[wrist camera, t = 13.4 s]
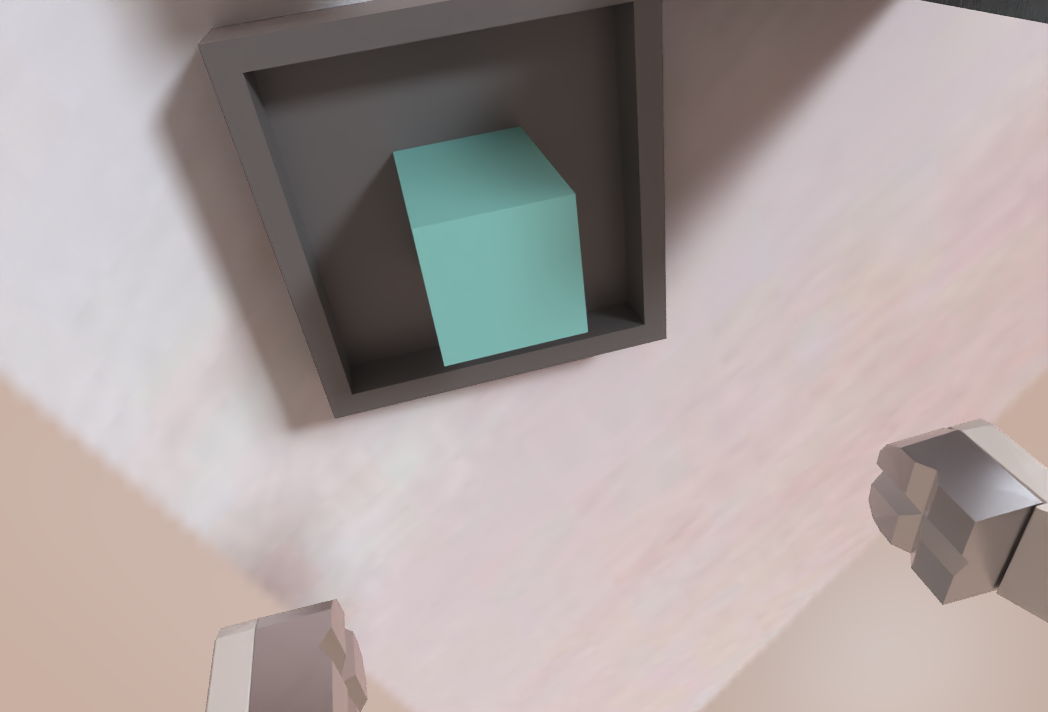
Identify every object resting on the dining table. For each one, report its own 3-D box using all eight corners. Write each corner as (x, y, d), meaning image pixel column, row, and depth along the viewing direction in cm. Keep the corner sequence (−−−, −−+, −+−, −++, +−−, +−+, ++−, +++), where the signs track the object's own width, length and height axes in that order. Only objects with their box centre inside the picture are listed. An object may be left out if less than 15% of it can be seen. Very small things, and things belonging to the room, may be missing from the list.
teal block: (392, 152, 21) (411, 228, 16) (520, 125, 22) (575, 194, 17) (420, 268, 24) (444, 366, 19) (535, 243, 24) (587, 332, 19)
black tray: (211, 29, 19) (198, 44, 17) (628, -45, 21) (661, -38, 19) (334, 377, 26) (334, 418, 24) (641, 305, 28) (666, 338, 25)
